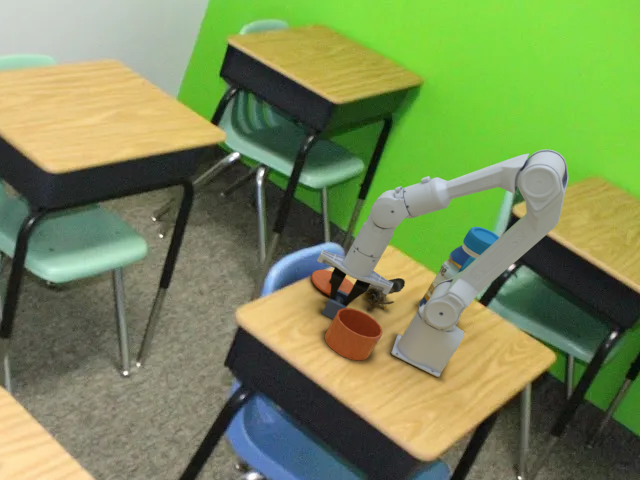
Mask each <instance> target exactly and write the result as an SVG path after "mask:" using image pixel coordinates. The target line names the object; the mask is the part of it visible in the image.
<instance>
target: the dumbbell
mask: <svg viewBox="0 0 640 480" xmlns="http://www.w3.org/2000/svg"><path fill="white" fill-rule="evenodd" d="M347 296H348V294H347V293H345V292H343V291H341V290H339V289H338V290H337V293H336V295H335V297H334V299H331V298H330V299H329V298H328V300H329V301H328V300H327V302H326V305H325V307H324V308H323V310H322V312H321V315H323V316H325V317H327V318H329V319H331V320H333V319H334V317H335V316H336V314H337V312H338V310H340V309H343V308H347V307H346V306H345V305H343V302H344V300H345V299H346V297H347Z"/></svg>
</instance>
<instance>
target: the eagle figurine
mask: <svg viewBox="0 0 640 480" xmlns="http://www.w3.org/2000/svg"><path fill="white" fill-rule="evenodd" d="M387 280H388V281H390V282H392V283H393V286H392V288H391V290H390V291H389V293H388V295H392V294H394V293H400V292H401V291H402V290H403V289H404V287H405V284H406V281H405V279H403V278H400V277H396V278H392V279H387ZM365 293H369V294H370V296H371V297H370V298H368V299H367V301H368V302H370V305H369V306H368V307H367V310H368V311H369V310H371V309H374V308H376V307H377V306H381V307H382V308H383V310H384V311H385V310H386V307H387V305H392V304H394V303H395V301H394V300H392V301H386V299H387V295H386V294H384V293H382V291H381V290H379V289H377V288H375V287H373V286H371V285H370V286H369V287H368V290H367V291H366V292H365Z"/></svg>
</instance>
